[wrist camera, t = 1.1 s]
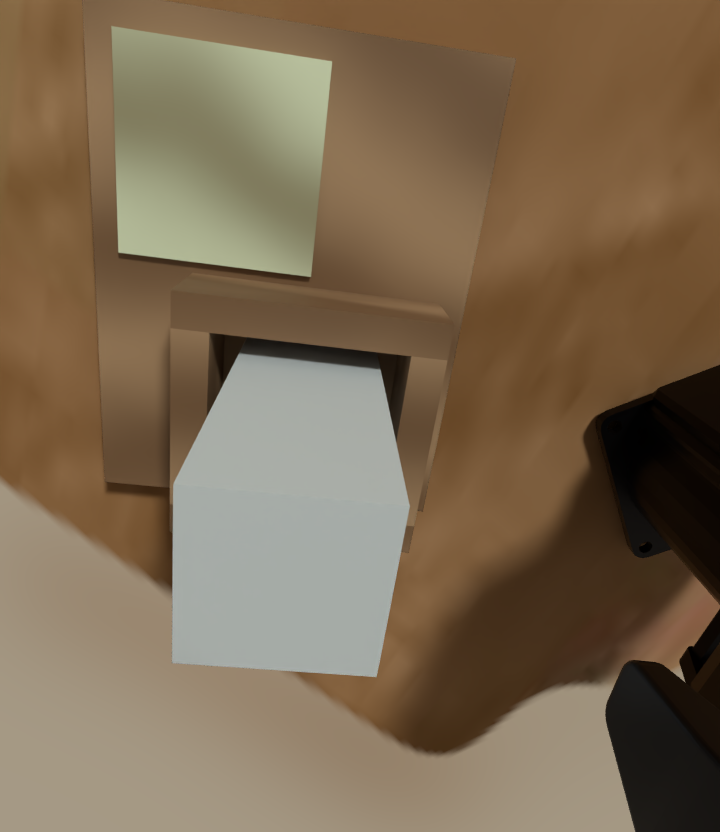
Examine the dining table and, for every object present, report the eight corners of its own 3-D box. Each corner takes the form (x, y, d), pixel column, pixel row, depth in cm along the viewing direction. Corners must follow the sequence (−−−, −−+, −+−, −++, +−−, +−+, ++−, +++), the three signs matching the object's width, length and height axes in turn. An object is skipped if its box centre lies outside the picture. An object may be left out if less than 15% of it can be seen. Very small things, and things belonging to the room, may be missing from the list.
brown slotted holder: (418, 496, 22) (433, 554, 18) (114, 467, 21) (74, 524, 17) (506, 64, 16) (548, 40, 13) (97, -3, 15) (32, -47, 12)
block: (359, 462, 20) (376, 677, 12) (241, 450, 19) (172, 662, 11) (376, 350, 18) (409, 506, 10) (248, 335, 18) (172, 484, 10)
